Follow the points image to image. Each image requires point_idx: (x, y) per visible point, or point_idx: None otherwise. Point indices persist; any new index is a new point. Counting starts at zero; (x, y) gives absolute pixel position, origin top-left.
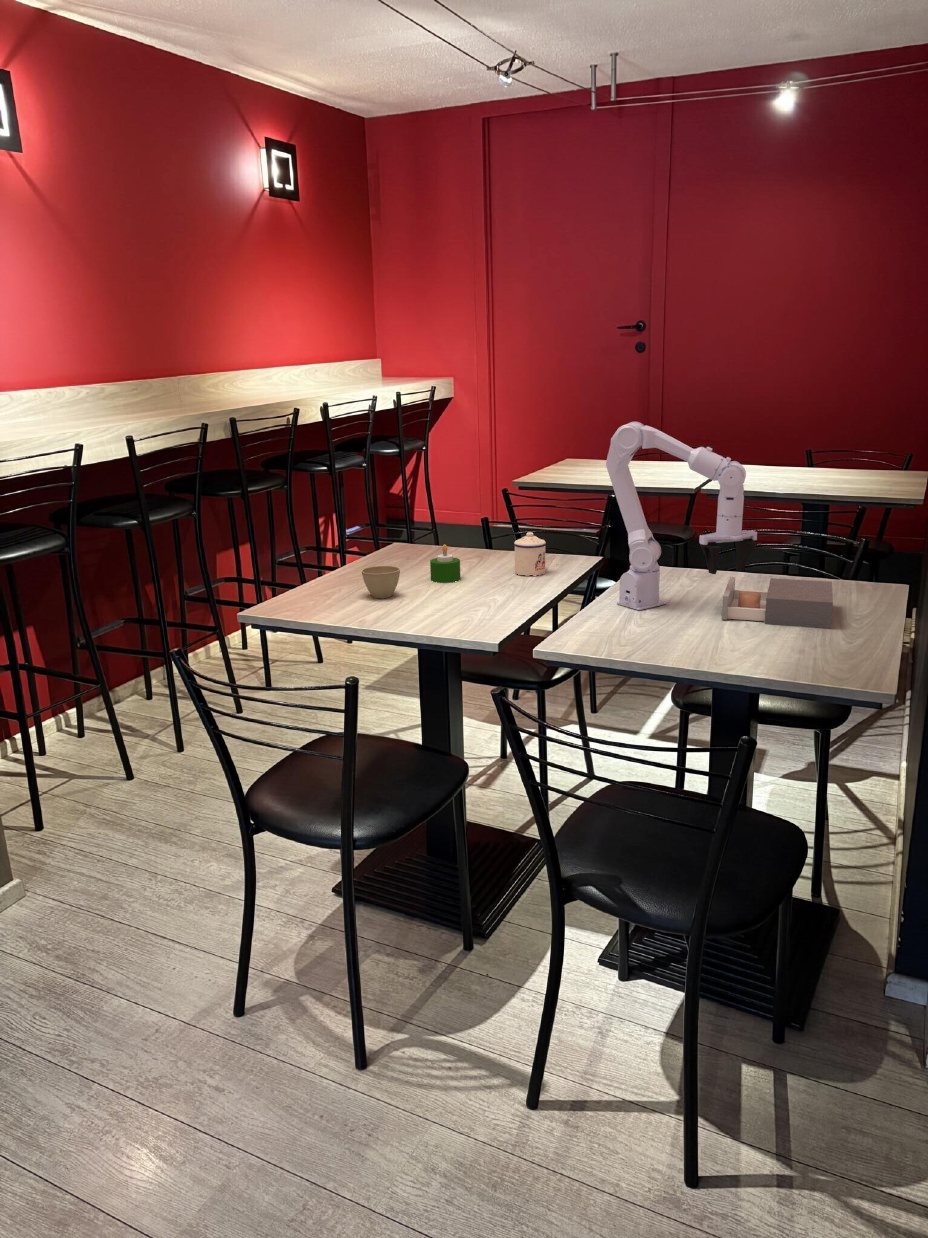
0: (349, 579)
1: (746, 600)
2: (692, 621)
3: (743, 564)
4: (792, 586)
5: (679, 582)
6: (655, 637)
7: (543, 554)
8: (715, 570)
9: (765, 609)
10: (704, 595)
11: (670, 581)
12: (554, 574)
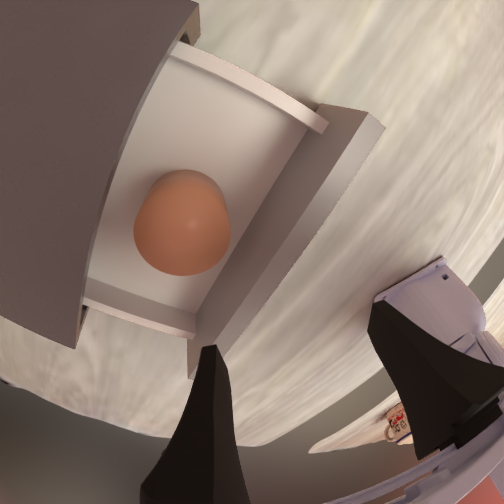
0: None
1: (211, 191)
2: (408, 138)
3: (212, 374)
4: (5, 234)
5: (253, 410)
6: (496, 71)
7: (404, 425)
8: (390, 310)
9: (182, 51)
10: (247, 355)
11: (266, 413)
12: (385, 409)
